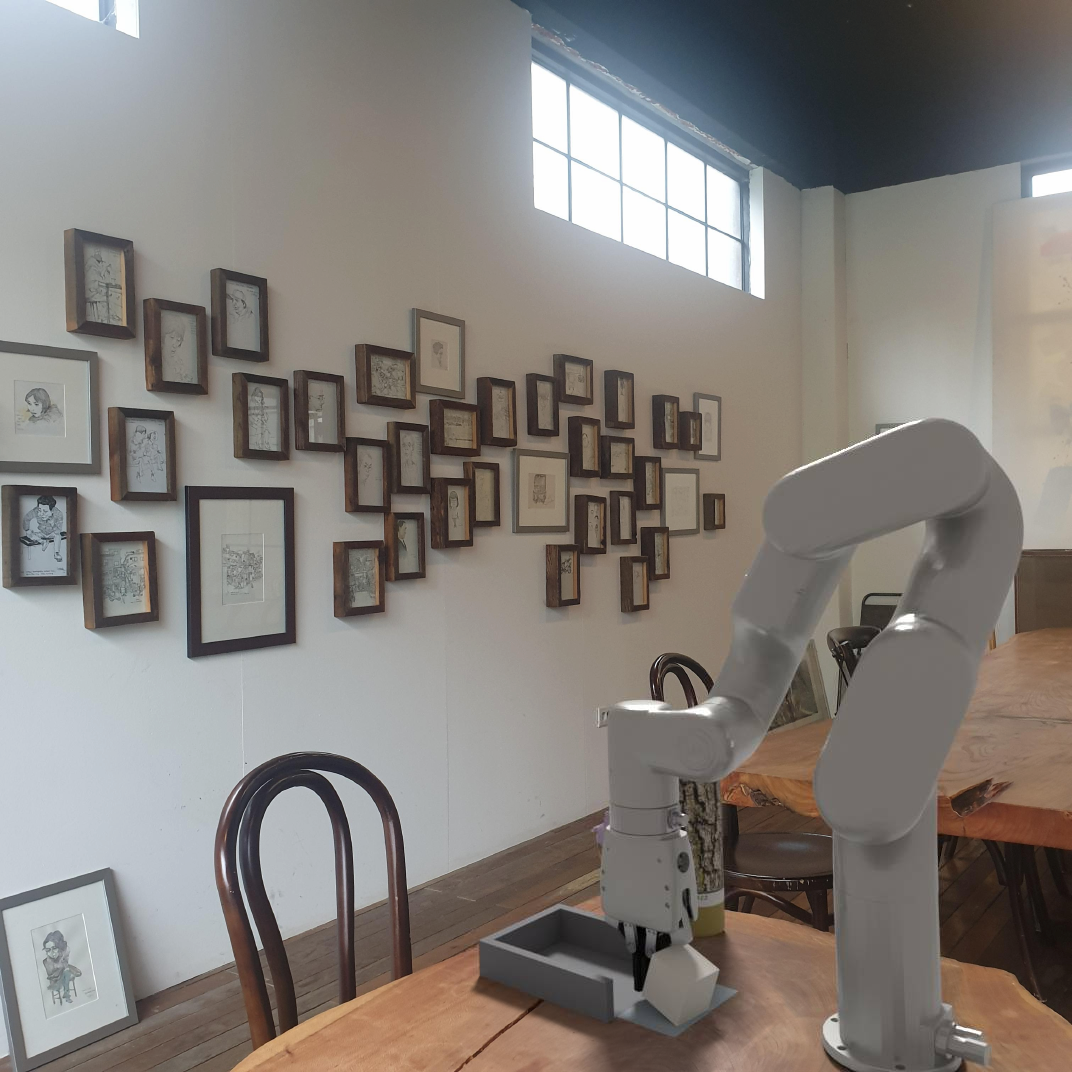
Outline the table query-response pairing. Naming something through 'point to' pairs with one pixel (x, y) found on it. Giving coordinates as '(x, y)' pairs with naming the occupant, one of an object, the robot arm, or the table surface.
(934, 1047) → the robot arm
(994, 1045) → the table surface
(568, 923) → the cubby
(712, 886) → the paper tube
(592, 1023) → the table surface
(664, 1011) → the cream block
